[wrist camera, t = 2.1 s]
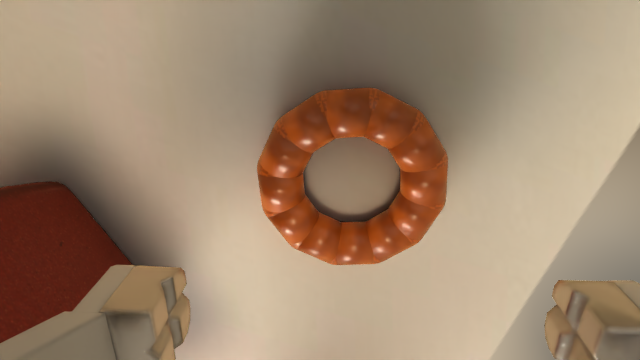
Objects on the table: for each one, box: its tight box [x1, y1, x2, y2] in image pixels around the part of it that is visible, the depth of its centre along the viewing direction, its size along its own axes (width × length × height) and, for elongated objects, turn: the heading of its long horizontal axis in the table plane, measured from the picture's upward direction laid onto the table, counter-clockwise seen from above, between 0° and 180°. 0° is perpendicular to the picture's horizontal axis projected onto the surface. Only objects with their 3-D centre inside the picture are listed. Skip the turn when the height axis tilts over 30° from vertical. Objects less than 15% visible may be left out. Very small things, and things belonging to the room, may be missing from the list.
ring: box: [257, 88, 448, 265], centre depth 27 cm, size 12×12×3 cm
